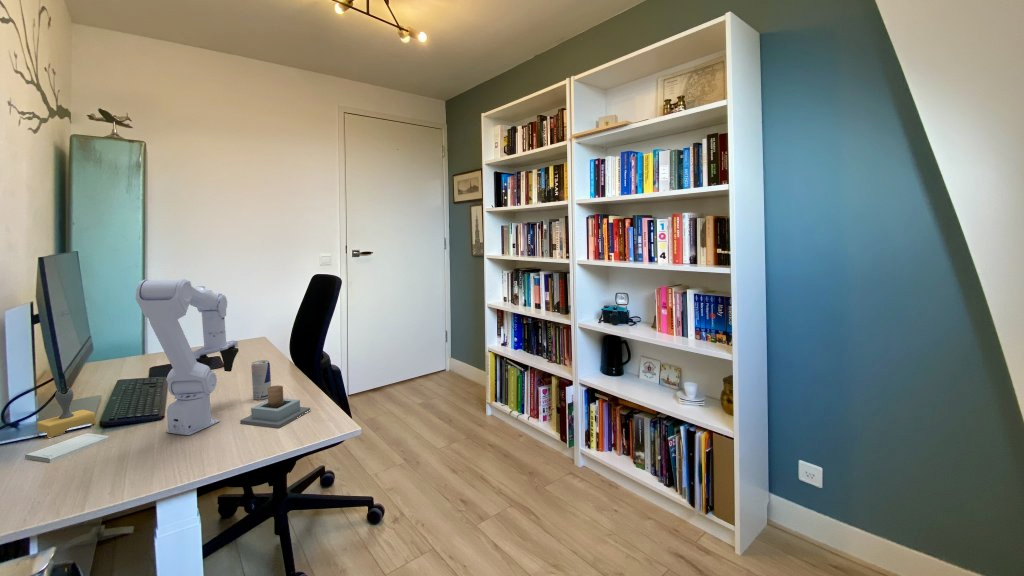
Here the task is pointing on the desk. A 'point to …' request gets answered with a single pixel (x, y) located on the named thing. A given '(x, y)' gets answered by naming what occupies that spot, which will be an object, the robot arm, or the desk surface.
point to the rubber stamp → (65, 417)
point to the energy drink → (261, 379)
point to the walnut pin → (275, 397)
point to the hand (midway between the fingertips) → (217, 374)
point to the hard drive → (67, 447)
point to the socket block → (275, 414)
